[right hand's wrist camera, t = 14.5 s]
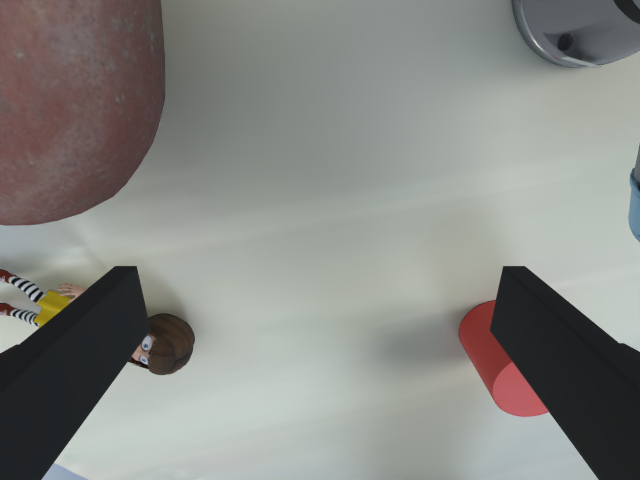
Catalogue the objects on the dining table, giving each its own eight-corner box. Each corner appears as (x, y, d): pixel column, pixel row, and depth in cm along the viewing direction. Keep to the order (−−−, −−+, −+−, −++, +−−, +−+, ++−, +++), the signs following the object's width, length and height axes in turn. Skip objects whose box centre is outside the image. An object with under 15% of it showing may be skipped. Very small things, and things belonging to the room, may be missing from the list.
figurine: (-50, 254, 36) (180, 329, 36) (18, 231, 43) (210, 294, 43) (-39, 353, 41) (164, 420, 40) (21, 317, 48) (194, 375, 47)
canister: (449, 316, 44) (482, 370, 36) (517, 289, 43) (569, 339, 34) (470, 364, 47) (504, 426, 38) (534, 341, 46) (586, 400, 37)
